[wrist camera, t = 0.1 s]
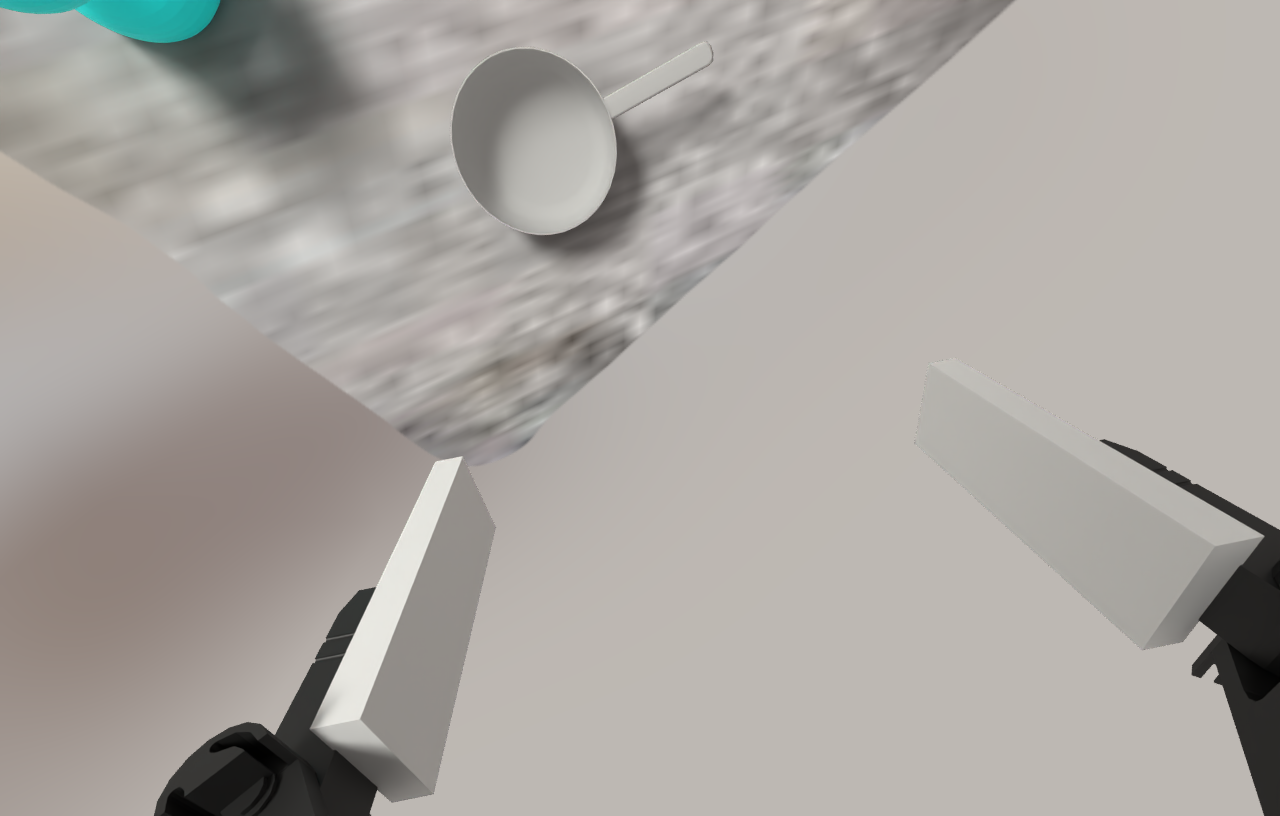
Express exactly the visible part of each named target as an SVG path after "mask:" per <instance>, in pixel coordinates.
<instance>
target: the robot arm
mask: <svg viewBox="0 0 1280 816" xmlns="http://www.w3.org/2000/svg"><path fill="white" fill-rule="evenodd" d="M915 444H916V445H917V446H918V447H919V448H920V449H921V450H922V451H923V452H925V453H926V454H927V455H928V456H929V457H930V458H931V459H932V460H934V461H935V462H936V463H937V464H938V465H939V466H940V467H941V468H942V469H943V470H944V471H945V472H947V473H948V474H949V475H950V476H951V477H952V478H953V479H954V480H955V481H957V482H958V483H959V484H960V485H961V486H962V487H963V488H964V489H965V490H967V491H968V492H969V493H970V494H971V495H972V496H973V497H974V498H975V499H976V500H977V501H979V502H980V503H981V504H982V505H983V506H984V507H985V508H986V509H987V510H988V511H990V512H991V513H992V514H993V515H994V516H995V517H996V518H997V519H998V520H999V521H1001V522H1002V523H1003V524H1004V525H1005V526H1006V527H1007V528H1008V529H1009V530H1010V531H1012V532H1013V533H1014V534H1015V535H1016V536H1017V537H1018V538H1019V539H1020V540H1021V541H1022V542H1024V543H1025V544H1026V545H1027V546H1028V547H1029V548H1030V549H1031V550H1032V551H1033V552H1035V553H1036V554H1037V555H1038V556H1039V557H1040V558H1041V559H1042V560H1043V561H1044V562H1046V563H1047V564H1048V565H1049V566H1050V567H1051V568H1052V569H1053V570H1054V571H1055V572H1057V573H1058V574H1059V575H1060V576H1061V577H1062V578H1063V579H1064V580H1065V581H1066V582H1068V583H1069V584H1070V585H1071V586H1072V587H1073V588H1074V589H1075V590H1076V591H1077V592H1079V593H1080V594H1081V595H1082V596H1083V597H1084V598H1085V599H1086V600H1087V601H1088V602H1090V603H1091V604H1092V605H1093V606H1094V607H1095V608H1096V609H1097V610H1098V611H1100V613H1102V614H1103V615H1104V616H1105V617H1106V618H1107V619H1108V620H1109V621H1111V623H1113V624H1114V625H1115V626H1116V627H1117V628H1118V629H1119V630H1120V631H1122V633H1124V634H1125V635H1126V636H1127V637H1128V638H1129V639H1130V640H1131V641H1133V643H1135V644H1136V645H1137V646H1138V647H1139V648H1140V649H1141V650H1145V649H1150V648H1155V647H1160V646H1165V645H1170V644H1175V643H1180V642H1183V641H1184V640H1185V639H1186V637H1187V636H1188V635H1189V633H1190V632H1191V631H1192V629H1193V628H1194V627H1195V626H1196V624H1197V623H1198V622H1199V621H1200V622H1202V623H1203V624H1204V625H1206V626H1207V627H1208V628H1210V629H1211V630H1212V631H1213V632H1215V633H1216V634H1217V636H1216V637H1215V638H1214V639H1213V641H1212V642H1211V643H1210V644H1209V645H1208V647H1207V648H1206V649H1205V650H1204V651H1203V653H1202V654H1201V655H1200V656H1199V657H1198V659H1197V660H1196V661H1195V662H1194V664H1193V665H1192V675H1193V676H1196V677H1199V678H1201V677H1202V676H1203V675H1204V674H1205V673H1206V671H1207V670H1208V669H1209V668H1210V667H1211V666H1212V665H1213V664H1216V666H1217V669H1218V673H1219V675H1218V676H1217V678H1216V679H1215V680H1214V682H1215V683H1217V684H1220V685H1223V688H1224V691H1225V695H1226V698H1227V701H1228V704H1229V707H1230V710H1231V713H1232V716H1233V720H1234V722H1235V726H1236V729H1237V732H1238V735H1239V738H1240V741H1241V745H1242V747H1243V751H1244V754H1245V757H1246V760H1247V763H1248V766H1249V770H1250V773H1251V776H1252V779H1253V782H1254V785H1255V788H1256V791H1257V794H1258V798H1259V801H1260V804H1261V807H1262V810H1263V813H1264V816H1280V530H1279V529H1277V528H1275V527H1273V526H1271V525H1270V524H1268V523H1266V522H1264V521H1263V520H1261V519H1259V518H1257V517H1255V516H1254V515H1252V514H1250V513H1248V512H1246V511H1245V510H1243V509H1241V508H1239V507H1237V506H1235V505H1234V504H1232V503H1230V502H1228V501H1227V500H1225V499H1223V498H1221V497H1219V496H1218V495H1216V494H1214V493H1212V492H1211V491H1209V490H1207V489H1205V488H1203V487H1201V486H1200V485H1198V484H1192V483H1191V482H1190V480H1189V479H1187V478H1185V477H1184V476H1182V475H1180V474H1178V473H1176V472H1174V471H1173V470H1171V471H1168V470H1167V469H1166V466H1164V465H1162V464H1160V463H1158V462H1157V461H1155V460H1153V459H1151V458H1149V457H1148V456H1146V455H1144V454H1142V453H1140V452H1138V451H1136V450H1133V449H1130V448H1128V447H1125V446H1122V445H1119V444H1116V443H1113V442H1110V441H1107V440H1105V439H1104V440H1097V439H1095V438H1094V437H1092V436H1090V435H1089V434H1087V433H1085V432H1083V431H1081V430H1080V429H1078V428H1076V427H1075V426H1073V425H1071V424H1070V423H1068V422H1066V421H1064V420H1063V419H1060V418H1059V417H1057V416H1056V415H1054V414H1052V413H1050V412H1049V411H1047V410H1045V409H1044V408H1042V407H1040V406H1038V405H1037V404H1035V403H1033V402H1031V401H1030V400H1028V399H1026V398H1025V397H1023V396H1021V395H1019V394H1018V393H1016V392H1014V391H1012V390H1011V389H1009V388H1007V387H1005V386H1004V385H1002V384H1000V383H998V382H997V381H995V380H993V379H992V378H990V377H988V376H986V375H985V374H983V373H981V372H980V371H978V370H976V369H974V368H973V367H971V366H969V365H967V364H966V363H964V362H962V361H960V360H959V359H957V358H952V359H947V360H942V361H937V362H932V363H929V364H928V370H927V376H926V381H925V387H924V393H923V398H922V404H921V409H920V416H919V421H918V426H917V431H916V437H915ZM495 528H496V527H495V525H494V522H493V520H492V518H491V516H490V514H489V512H488V510H487V507H486V505H485V503H484V501H483V499H482V497H481V494H480V492H479V491H478V488H477V486H476V484H475V482H474V479H473V477H472V475H471V473H470V471H469V469H468V466H467V464H466V462H465V460H464V458H463V456H462V457H457V458H452V459H447V460H442V461H437V462H435V464H434V466H433V468H432V471H431V472H430V475H429V477H428V479H427V481H426V483H425V485H424V487H423V489H422V492H421V494H420V496H419V498H418V500H417V502H416V504H415V506H414V509H413V511H412V513H411V515H410V517H409V519H408V522H407V523H406V526H405V528H404V530H403V532H402V534H401V536H400V538H399V540H398V543H397V545H396V547H395V549H394V551H393V553H392V555H391V557H390V560H389V562H388V564H387V566H386V568H385V570H384V572H383V574H382V577H381V579H380V581H379V583H378V585H377V587H374V588H369V589H364V590H359V591H358V592H357V594H356V595H355V596H354V597H353V598H352V599H351V600H350V601H349V602H348V604H347V605H346V606H345V607H344V608H343V609H342V610H341V611H340V613H339V614H338V616H337V618H336V620H335V622H334V623H333V625H332V627H331V629H330V631H329V633H328V635H327V637H326V639H327V640H326V642H325V643H323V645H322V646H321V648H320V650H319V652H318V654H317V656H316V658H315V659H316V662H315V663H313V664H312V665H311V667H310V669H309V671H308V673H307V675H306V677H305V679H304V681H303V683H302V684H301V687H300V689H299V690H298V692H297V694H296V696H295V698H294V700H293V702H292V704H291V705H290V707H289V710H288V711H287V713H286V715H285V717H284V719H283V721H282V723H281V724H280V726H279V728H278V730H277V732H276V734H275V735H273V734H272V733H271V732H270V731H268V730H267V729H266V728H265V727H264V726H262V725H261V724H257V723H249V722H246V723H243V724H240V725H237V726H234V727H230V728H228V729H226V730H225V731H223V732H221V733H220V734H218V735H216V736H215V737H213V738H212V739H210V740H208V741H207V742H206V743H205V744H204V745H203V746H201V747H200V748H199V749H198V750H197V751H196V752H194V753H193V754H192V755H191V756H190V757H189V758H188V759H187V760H186V761H185V762H184V763H183V765H182V766H181V767H180V768H179V769H178V770H177V772H176V773H175V774H174V775H173V776H172V778H171V779H170V780H169V782H168V784H167V785H166V787H165V789H164V791H163V793H162V794H161V796H160V798H159V799H158V801H157V805H156V810H155V813H154V816H371V815H370V810H371V807H372V804H373V801H374V798H375V794H376V791H377V790H378V791H379V792H381V793H382V794H383V795H384V796H385V797H386V798H387V799H388V800H389V801H391V802H398V801H402V800H407V799H412V798H417V797H422V796H427V795H432V794H434V790H435V786H436V781H437V777H438V772H439V768H440V764H441V760H442V756H443V751H444V747H445V743H446V738H447V734H448V730H449V726H450V721H451V717H452V713H453V708H454V704H455V700H456V695H457V691H458V687H459V683H460V678H461V674H462V670H463V665H464V661H465V657H466V652H467V648H468V644H469V640H470V635H471V631H472V627H473V622H474V618H475V614H476V610H477V605H478V601H479V596H480V593H481V588H482V584H483V580H484V575H485V571H486V567H487V562H488V558H489V554H490V550H491V545H492V540H493V536H494V532H495Z"/></svg>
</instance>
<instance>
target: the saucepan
mask: <svg viewBox="0 0 1280 816" xmlns="http://www.w3.org/2000/svg"><path fill="white" fill-rule="evenodd" d="M712 61H713V51H712V48H711V45H710V44H709V43H708V42H701V43H699V44H698V45H696V46H694V47H692V48H691V49H689V50H687V51H685V52H684V53H682V54H680V55H678V56H677V57H675V58H673V59H671V60H670V61H668V62H666V63H664V64H663V65H661V66H659V67H657V68H656V69H654V70H652V71H650V72H649V73H647V74H645V75H643V76H642V77H640V78H638V79H636V80H635V81H633V82H631V83H629V84H628V85H626V86H624V87H622V88H621V89H619V90H617V91H615V92H614V93H612V94H610V95H608V96H607V97H605V98H602V96H601V94H600V92H599V91H598V90H597V88H596V87H595V85H594V84H593V83H592V81H591V80H590V79H589V78H588V77H587V76H586V75H585V74H584V73H583V72H582V71H581V70H580V69H579V68H578V67H577V66H575V65H574V64H572V63H571V62H570V61H568V60H567V59H565V58H564V57H561V56H559V55H557V54H555V53H553V52H550V51H548V50H543V49H539V48H535V47H514V48H510V49H505V50H501V51H499V52H497V53H495V54H492V55H490V56H488V57H487V58H485V59H484V60H483V61H481V62H480V63H479V64H478V65H476V66H475V67H474V68H473V70H472V71H471V72H470V73H469V74H468V76H467V77H466V78H465V80H464V81H463V83H462V85H461V87H460V89H459V91H458V93H457V96H456V99H455V102H454V105H453V108H452V115H451V123H450V134H451V146H452V151H453V157H454V160H455V163H456V166H457V169H458V172H459V174H460V176H461V178H462V180H463V182H464V184H465V186H466V188H467V189H468V191H469V192H470V194H471V195H472V196H473V198H474V199H475V201H476V202H477V203H478V204H479V205H480V206H481V207H482V208H483V209H484V210H485V211H486V212H487V213H488V214H489V215H491V216H492V217H493V218H495V219H496V220H497V221H499V222H501V223H502V224H504V225H506V226H508V227H510V228H512V229H515V230H518V231H521V232H523V233H528V234H535V235H552V234H557V233H562V232H565V231H568V230H570V229H572V228H575V227H577V226H578V225H580V224H581V223H583V222H584V221H586V220H587V219H588V218H589V217H590V216H591V215H592V214H593V213H594V212H595V211H596V210H597V209H598V208H599V206H600V205H601V203H602V202H603V201H604V199H605V197H606V195H607V193H608V191H609V189H610V187H611V183H612V180H613V177H614V173H615V167H616V159H617V148H616V136H615V131H614V125H613V122H612V119H614V118H616V117H618V116H619V115H621V114H623V113H625V112H627V111H628V110H630V109H632V108H634V107H636V106H637V105H639V104H641V103H643V102H644V101H646V100H648V99H650V98H652V97H653V96H655V95H657V94H659V93H661V92H662V91H664V90H666V89H668V88H670V87H671V86H673V85H675V84H677V83H679V82H680V81H682V80H684V79H686V78H687V77H689V76H691V75H693V74H695V73H696V72H698V71H700V70H702V69H704V68H705V67H707V66H709V65H710V64H711V63H712Z"/></svg>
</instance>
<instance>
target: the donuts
mask: <svg viewBox="0 0 1280 816" xmlns="http://www.w3.org/2000/svg"><path fill="white" fill-rule="evenodd" d="M219 3H220V0H0V7H1V8H5V9H9V10H13V11H18V12H24V13H34V14H51V13H61V12H66V11H70V10H73V9H75V10H77V11H78V12H80V13H81V14H83V15H84V16H86V17H87V18H89V19H91V20H92V21H94V22H96V23H98V24H100V25H102V26H104V27H106V28H108V29H110V30H112V31H114V32H116V33H119V34H121V35H124V36H127V37H130V38H134V39H138V40H142V41H147V42H155V43H170V42H177V41H181V40H185V39H188V38H190V37H193V36H195V35H196V34H198V33H199V32H201V31H202V30H203V29H204V28H205V27H206V26H207V25H208V24H209V23H210V21H211V20H212V19H213V17H214V15H215V13H216V11H217V9H218V6H219Z"/></svg>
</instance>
